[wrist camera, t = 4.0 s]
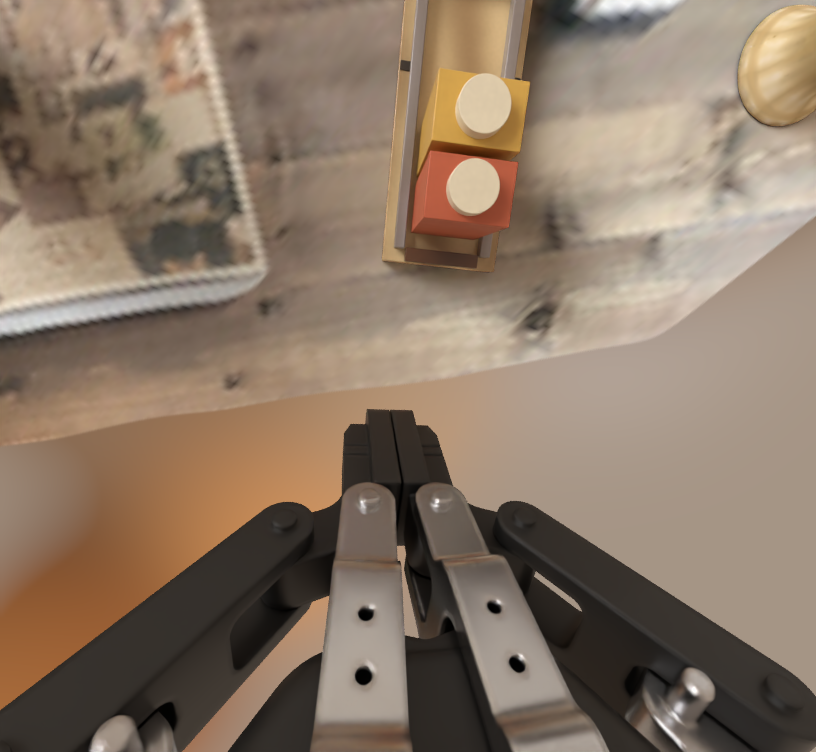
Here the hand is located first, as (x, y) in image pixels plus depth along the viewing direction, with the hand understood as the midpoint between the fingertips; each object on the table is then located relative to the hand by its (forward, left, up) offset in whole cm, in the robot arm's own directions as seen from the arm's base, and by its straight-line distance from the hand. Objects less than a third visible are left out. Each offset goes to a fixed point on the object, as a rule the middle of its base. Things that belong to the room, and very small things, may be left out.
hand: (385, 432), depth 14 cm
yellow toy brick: (+4, +14, -21) cm, 26 cm away
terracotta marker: (+4, +10, -21) cm, 24 cm away
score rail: (+4, +16, -23) cm, 28 cm away
